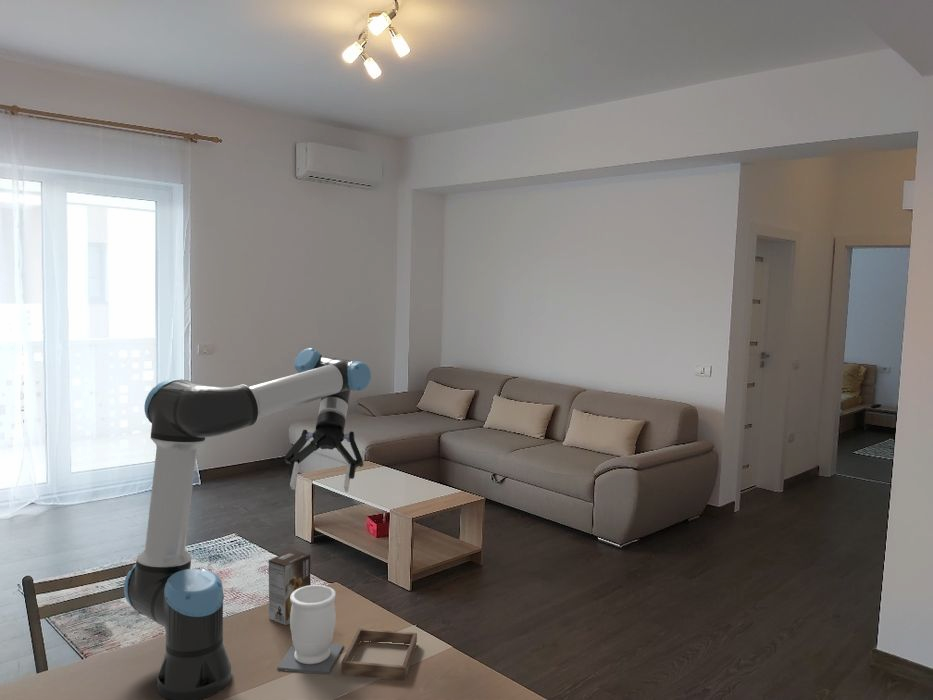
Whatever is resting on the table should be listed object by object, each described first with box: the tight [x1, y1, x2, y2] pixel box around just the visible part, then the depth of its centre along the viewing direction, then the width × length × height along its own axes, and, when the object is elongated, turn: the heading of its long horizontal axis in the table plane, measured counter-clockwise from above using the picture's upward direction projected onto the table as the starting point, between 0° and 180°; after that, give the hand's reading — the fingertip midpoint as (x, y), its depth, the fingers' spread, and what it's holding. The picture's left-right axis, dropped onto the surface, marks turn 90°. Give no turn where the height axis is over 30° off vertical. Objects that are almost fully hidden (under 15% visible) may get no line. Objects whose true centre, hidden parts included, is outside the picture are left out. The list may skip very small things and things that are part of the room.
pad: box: [276, 643, 344, 675], centre depth 165 cm, size 12×12×1 cm
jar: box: [289, 584, 336, 664], centre depth 164 cm, size 11×10×15 cm
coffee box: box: [268, 549, 311, 626], centre depth 184 cm, size 9×6×16 cm
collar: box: [340, 627, 418, 682], centre depth 165 cm, size 15×16×3 cm
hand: (319, 488), depth 178 cm, fingers open, 13 cm apart
